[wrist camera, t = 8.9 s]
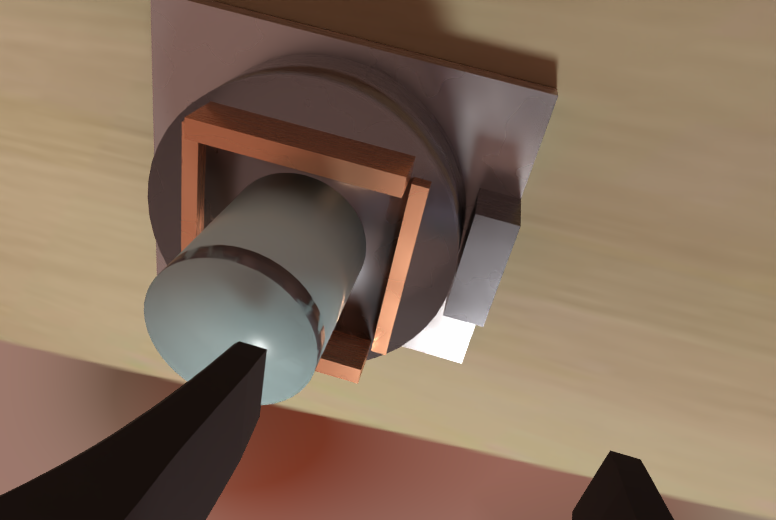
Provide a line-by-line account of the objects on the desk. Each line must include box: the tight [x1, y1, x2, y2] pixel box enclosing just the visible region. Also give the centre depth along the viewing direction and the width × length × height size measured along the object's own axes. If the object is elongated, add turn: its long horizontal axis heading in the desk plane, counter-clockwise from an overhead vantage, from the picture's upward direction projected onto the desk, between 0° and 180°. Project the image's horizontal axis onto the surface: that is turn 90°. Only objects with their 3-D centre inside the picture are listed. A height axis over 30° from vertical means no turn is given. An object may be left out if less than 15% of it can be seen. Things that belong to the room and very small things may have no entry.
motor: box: [148, 0, 558, 383], centre depth 19 cm, size 13×11×5 cm
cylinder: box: [144, 173, 366, 405], centre depth 16 cm, size 4×4×5 cm
